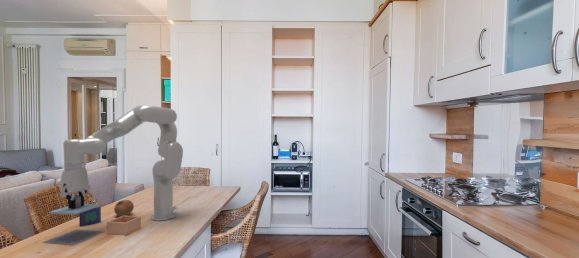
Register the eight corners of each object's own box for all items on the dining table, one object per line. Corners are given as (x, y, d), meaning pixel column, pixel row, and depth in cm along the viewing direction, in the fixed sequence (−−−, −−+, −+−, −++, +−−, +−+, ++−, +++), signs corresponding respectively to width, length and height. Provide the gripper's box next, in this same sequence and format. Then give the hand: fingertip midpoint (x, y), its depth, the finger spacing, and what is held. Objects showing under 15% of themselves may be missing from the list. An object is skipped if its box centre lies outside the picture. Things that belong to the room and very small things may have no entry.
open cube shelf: (123, 227, 141) (123, 215, 141) (140, 228, 140) (140, 216, 139) (106, 234, 131) (106, 221, 131) (125, 236, 130) (125, 223, 130)
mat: (76, 230, 137) (76, 229, 137) (104, 232, 134) (104, 231, 134) (41, 244, 121) (41, 242, 121) (73, 246, 118) (73, 245, 118)
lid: (77, 204, 136) (76, 192, 135) (100, 205, 133) (100, 193, 133) (49, 213, 123) (49, 200, 123) (75, 214, 120) (74, 201, 120)
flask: (100, 222, 149) (100, 202, 149) (101, 223, 147) (101, 203, 147) (78, 226, 142) (78, 205, 142) (80, 228, 140) (80, 206, 140)
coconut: (120, 223, 157) (112, 209, 152) (116, 214, 164) (109, 201, 159) (137, 214, 162) (131, 200, 157) (134, 206, 169) (127, 193, 164)
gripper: (84, 163, 136) (85, 201, 137) (49, 169, 120) (50, 212, 120) (97, 164, 135) (98, 202, 135) (64, 169, 119) (65, 213, 119)
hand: (76, 206), depth 128 cm, fingers closed on lid, 3 cm apart
